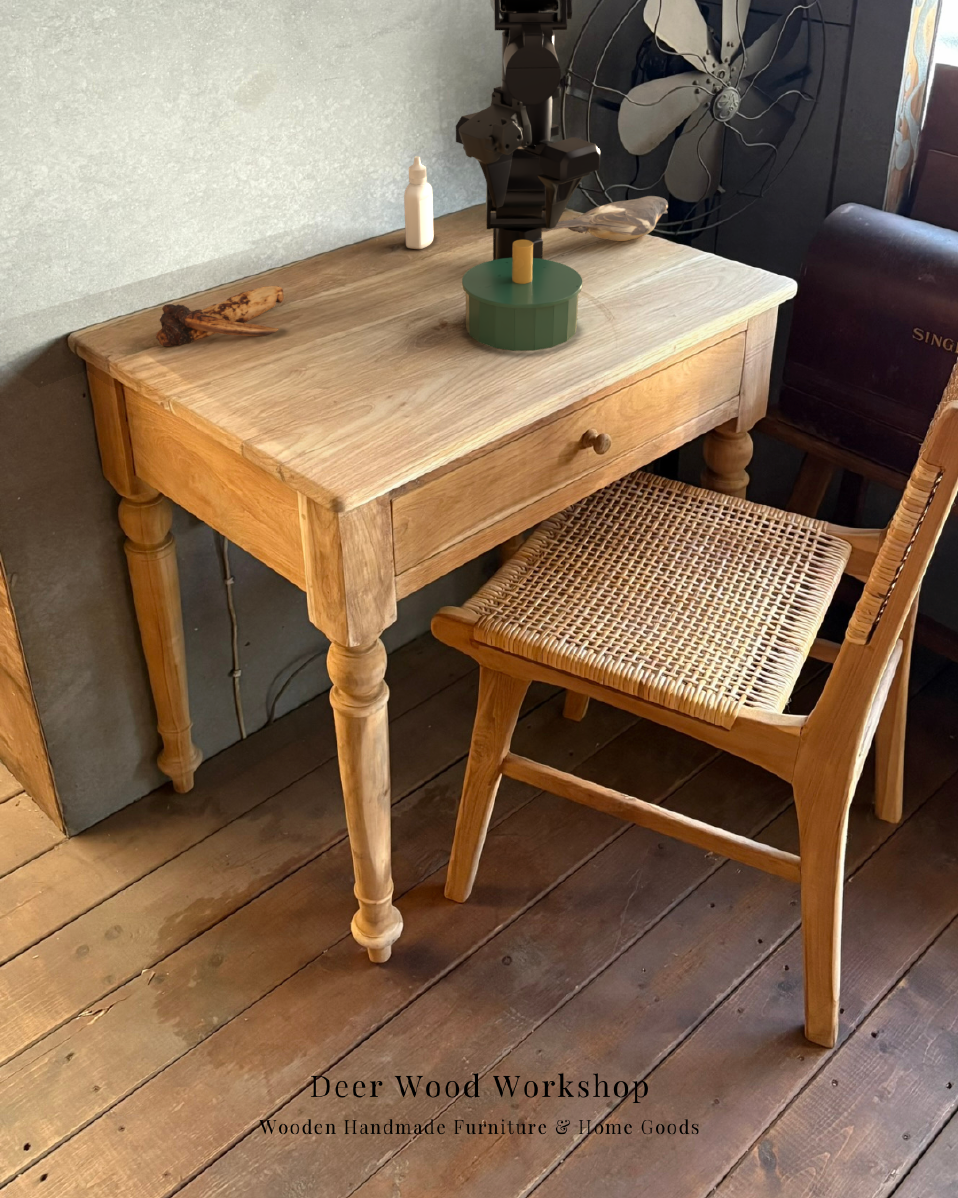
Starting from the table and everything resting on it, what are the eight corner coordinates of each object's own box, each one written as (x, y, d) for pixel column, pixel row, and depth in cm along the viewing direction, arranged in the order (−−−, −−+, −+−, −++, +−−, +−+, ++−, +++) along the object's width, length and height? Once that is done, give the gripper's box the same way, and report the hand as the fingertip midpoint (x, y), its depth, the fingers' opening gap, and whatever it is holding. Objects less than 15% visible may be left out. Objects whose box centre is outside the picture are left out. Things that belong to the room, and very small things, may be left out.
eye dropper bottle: (444, 242, 170) (443, 156, 162) (414, 252, 167) (411, 165, 159) (425, 233, 172) (422, 148, 165) (394, 243, 169) (390, 157, 162)
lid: (437, 286, 143) (436, 241, 140) (525, 256, 151) (525, 212, 148) (518, 324, 135) (519, 277, 131) (607, 290, 142) (610, 245, 139)
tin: (443, 328, 147) (442, 282, 143) (524, 299, 154) (525, 254, 150) (517, 365, 139) (518, 317, 135) (599, 332, 146) (602, 285, 142)
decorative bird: (684, 232, 173) (688, 197, 170) (553, 271, 161) (554, 234, 158) (654, 219, 177) (657, 185, 174) (523, 256, 165) (524, 221, 162)
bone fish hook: (190, 371, 139) (313, 322, 148) (184, 334, 136) (310, 287, 145) (147, 343, 144) (269, 298, 153) (140, 307, 141) (265, 263, 150)
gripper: (417, 74, 133) (422, 212, 143) (531, 110, 122) (528, 257, 132) (492, 57, 139) (491, 190, 148) (607, 90, 128) (598, 232, 137)
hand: (524, 217), depth 141 cm, fingers open, 9 cm apart
